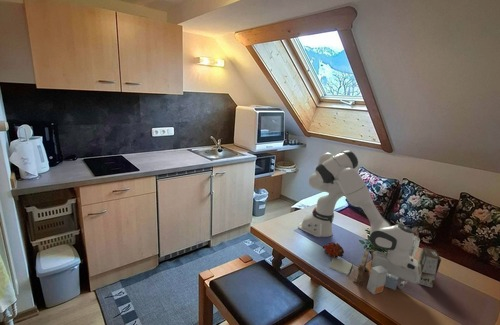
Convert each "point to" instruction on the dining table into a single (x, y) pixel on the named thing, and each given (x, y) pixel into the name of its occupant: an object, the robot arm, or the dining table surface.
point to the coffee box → (428, 266)
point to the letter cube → (391, 281)
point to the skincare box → (377, 279)
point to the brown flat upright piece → (362, 269)
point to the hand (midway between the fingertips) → (390, 281)
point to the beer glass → (414, 246)
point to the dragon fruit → (333, 250)
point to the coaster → (340, 266)
